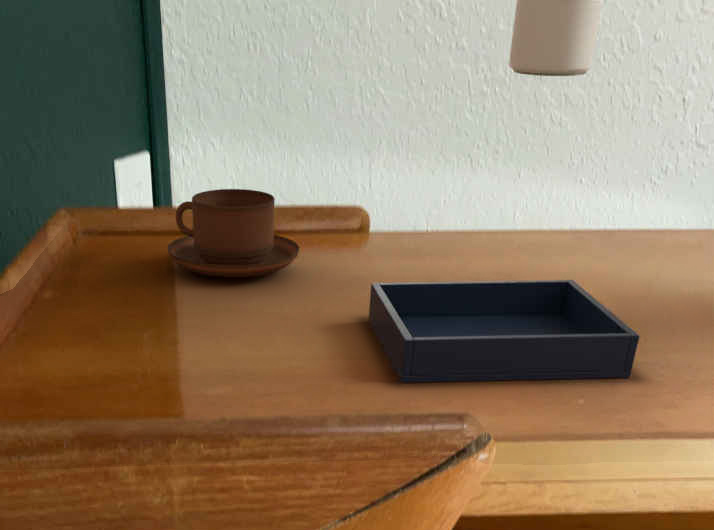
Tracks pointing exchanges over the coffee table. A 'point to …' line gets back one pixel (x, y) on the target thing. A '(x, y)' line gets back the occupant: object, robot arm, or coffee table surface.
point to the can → (554, 36)
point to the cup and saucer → (231, 235)
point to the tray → (499, 331)
